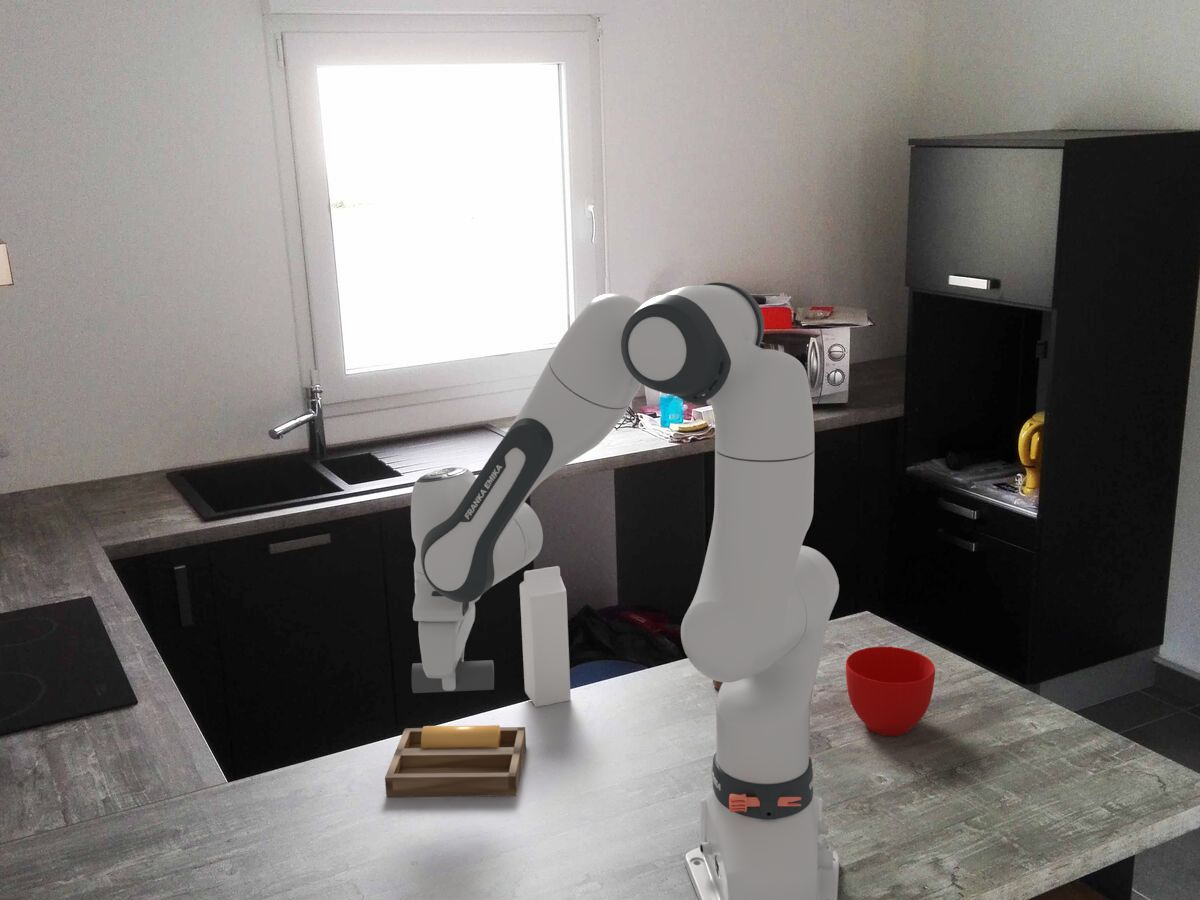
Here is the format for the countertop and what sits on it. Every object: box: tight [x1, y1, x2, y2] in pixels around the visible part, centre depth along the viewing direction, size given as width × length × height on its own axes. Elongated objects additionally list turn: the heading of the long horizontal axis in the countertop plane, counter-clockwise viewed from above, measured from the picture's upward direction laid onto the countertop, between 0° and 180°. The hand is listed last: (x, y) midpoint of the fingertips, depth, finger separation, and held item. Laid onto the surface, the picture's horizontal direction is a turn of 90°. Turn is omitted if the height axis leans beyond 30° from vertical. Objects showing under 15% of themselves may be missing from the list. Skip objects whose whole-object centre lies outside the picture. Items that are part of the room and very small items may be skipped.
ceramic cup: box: [845, 645, 936, 737], centre depth 177 cm, size 13×17×10 cm
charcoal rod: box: [411, 659, 495, 694], centre depth 160 cm, size 11×4×4 cm, turn 93°
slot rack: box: [384, 726, 527, 798], centre depth 167 cm, size 14×18×3 cm
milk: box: [519, 565, 572, 708], centre depth 186 cm, size 6×6×22 cm
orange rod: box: [421, 724, 501, 748], centre depth 170 cm, size 11×4×4 cm, turn 88°
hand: (453, 679), depth 160 cm, fingers closed on charcoal rod, 4 cm apart
